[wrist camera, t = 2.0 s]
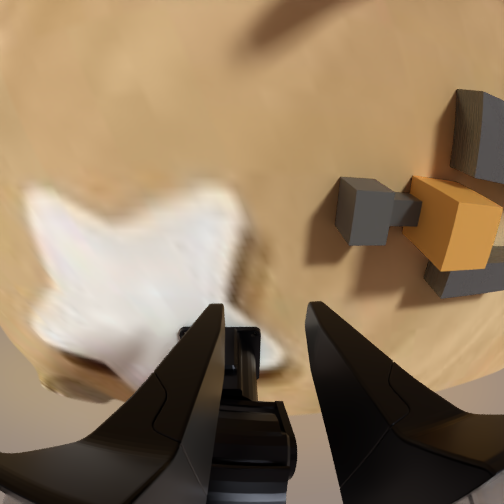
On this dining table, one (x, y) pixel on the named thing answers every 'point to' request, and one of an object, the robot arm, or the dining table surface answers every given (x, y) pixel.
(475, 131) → the grey rectangular blocks
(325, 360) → the robot arm
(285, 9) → the dining table surface
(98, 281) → the dining table surface
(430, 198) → the plug
